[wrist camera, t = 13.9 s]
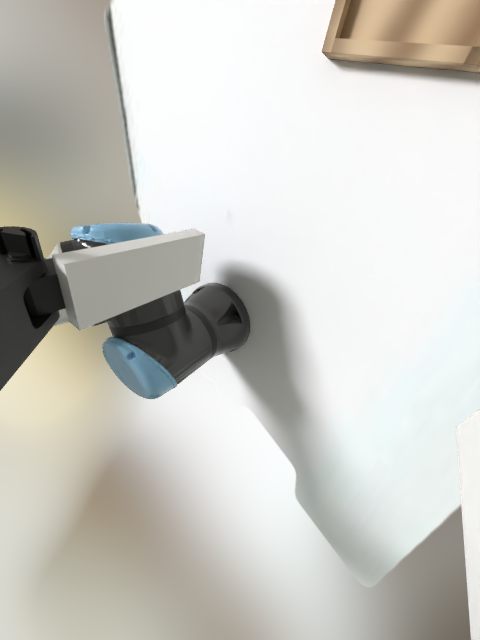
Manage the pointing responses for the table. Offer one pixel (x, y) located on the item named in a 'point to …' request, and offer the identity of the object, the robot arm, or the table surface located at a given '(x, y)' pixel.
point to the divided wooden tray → (406, 33)
